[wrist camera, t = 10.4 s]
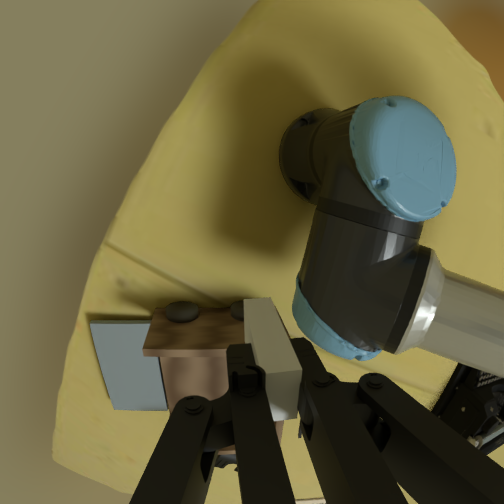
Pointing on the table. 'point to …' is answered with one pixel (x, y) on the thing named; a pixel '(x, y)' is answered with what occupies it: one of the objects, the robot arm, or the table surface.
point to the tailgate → (128, 365)
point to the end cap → (226, 460)
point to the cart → (196, 350)
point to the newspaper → (311, 501)
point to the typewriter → (474, 407)
